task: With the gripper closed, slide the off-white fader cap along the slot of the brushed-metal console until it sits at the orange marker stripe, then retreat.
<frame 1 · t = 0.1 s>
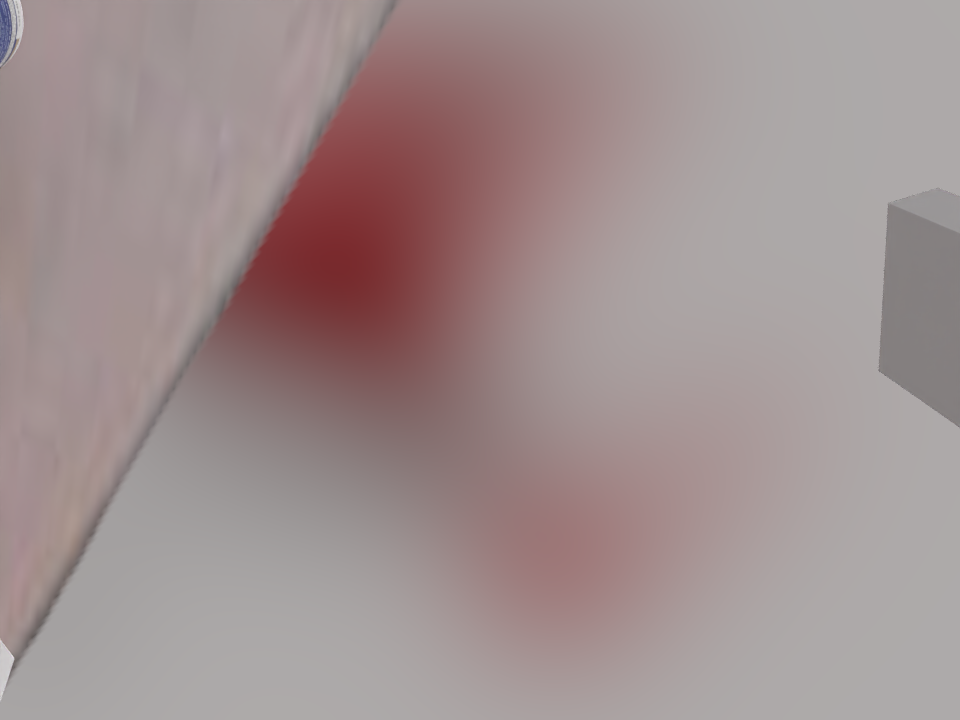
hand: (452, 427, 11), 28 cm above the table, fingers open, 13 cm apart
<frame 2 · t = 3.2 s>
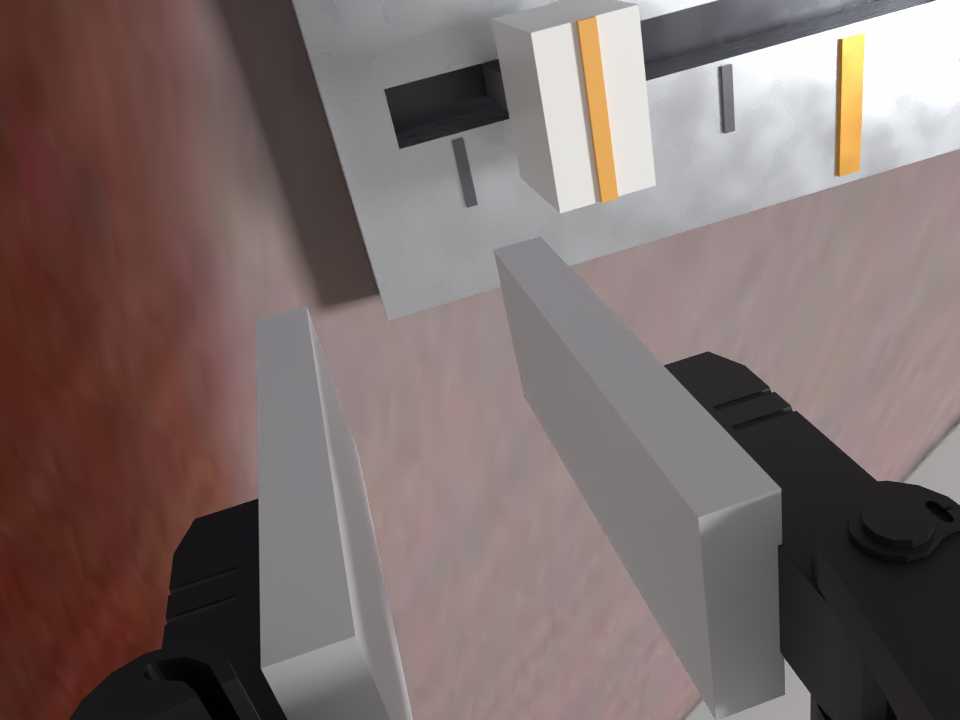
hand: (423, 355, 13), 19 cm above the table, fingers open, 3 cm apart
console: (689, 22, 30), on the table
fader knob: (551, 90, 26), point 4 cm above the table, slide at -7.0 cm
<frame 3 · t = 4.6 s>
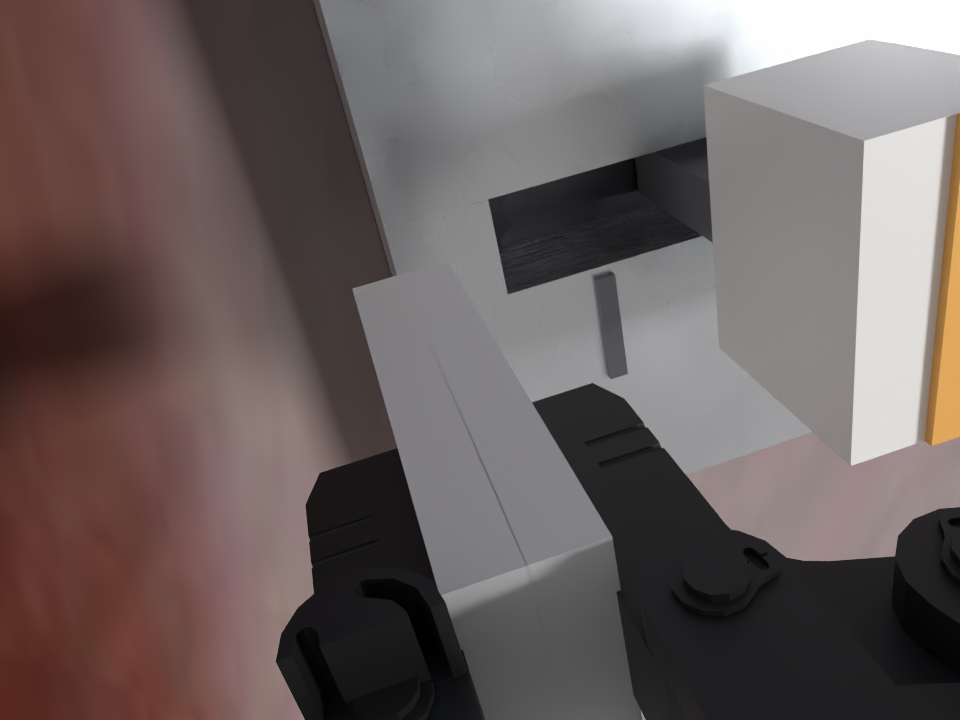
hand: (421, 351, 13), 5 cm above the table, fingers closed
console: (955, 70, 19), on the table
fader knob: (791, 206, 14), point 4 cm above the table, slide at -7.0 cm
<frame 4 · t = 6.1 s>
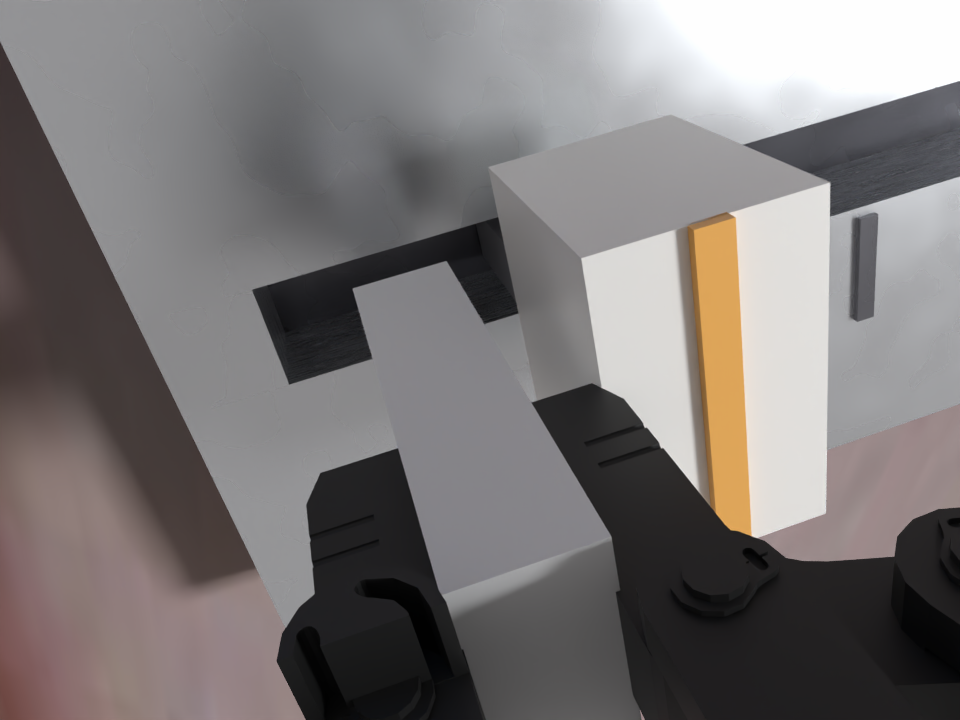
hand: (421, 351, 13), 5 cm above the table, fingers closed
console: (793, 131, 18), on the table
fader knob: (603, 286, 14), point 4 cm above the table, slide at -6.3 cm, touching gripper
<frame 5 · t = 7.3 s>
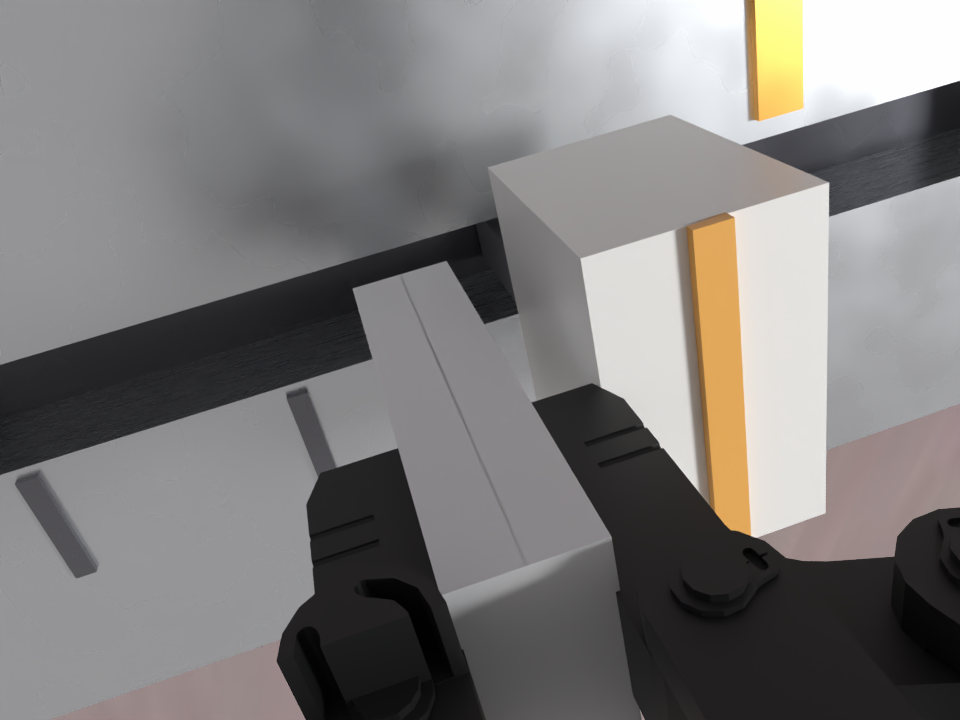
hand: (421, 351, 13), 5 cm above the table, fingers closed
console: (500, 218, 17), on the table
fader knob: (603, 287, 14), point 4 cm above the table, slide at 0.6 cm, touching gripper
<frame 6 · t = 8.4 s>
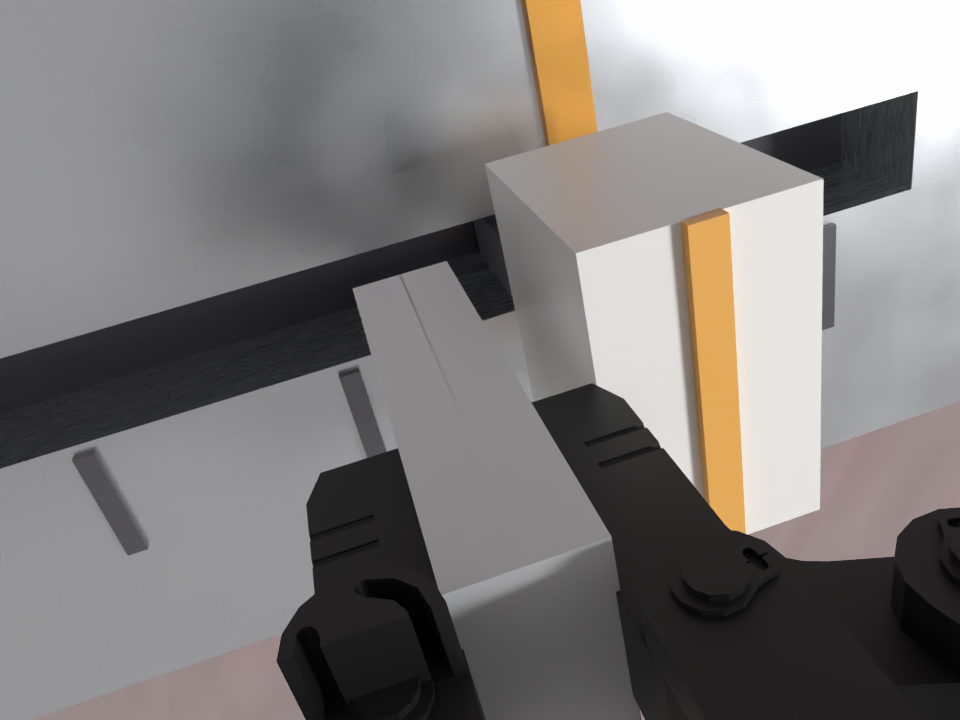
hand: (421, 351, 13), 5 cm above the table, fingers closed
console: (319, 267, 17), on the table
fader knob: (599, 283, 14), point 4 cm above the table, slide at 4.5 cm, touching gripper
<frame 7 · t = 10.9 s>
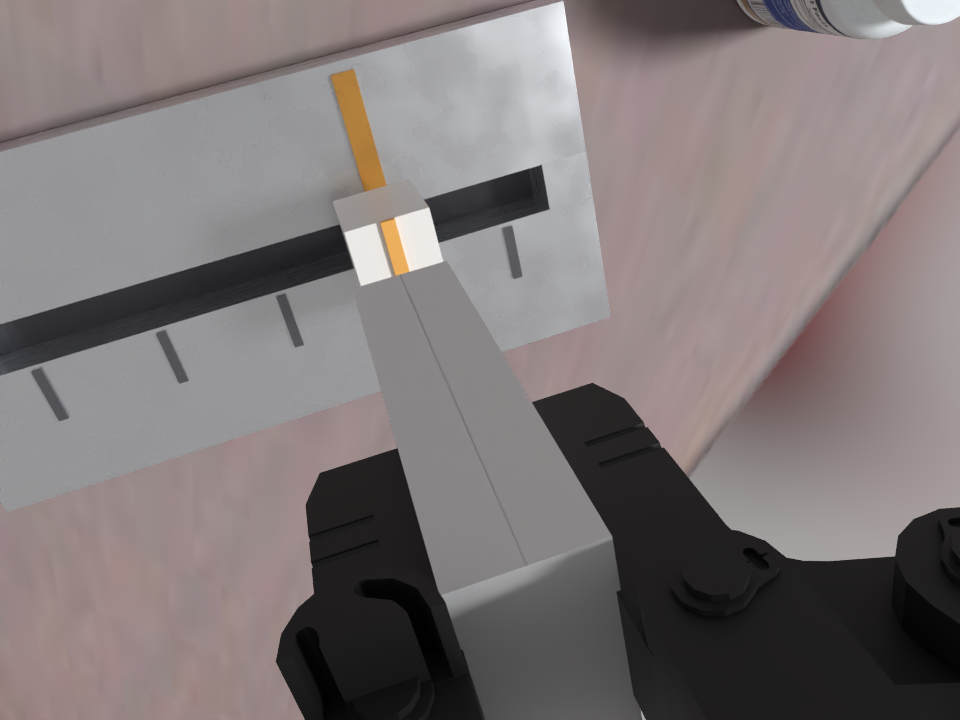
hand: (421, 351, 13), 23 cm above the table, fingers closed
console: (269, 250, 35), on the table
fader knob: (388, 250, 32), point 4 cm above the table, slide at 4.7 cm
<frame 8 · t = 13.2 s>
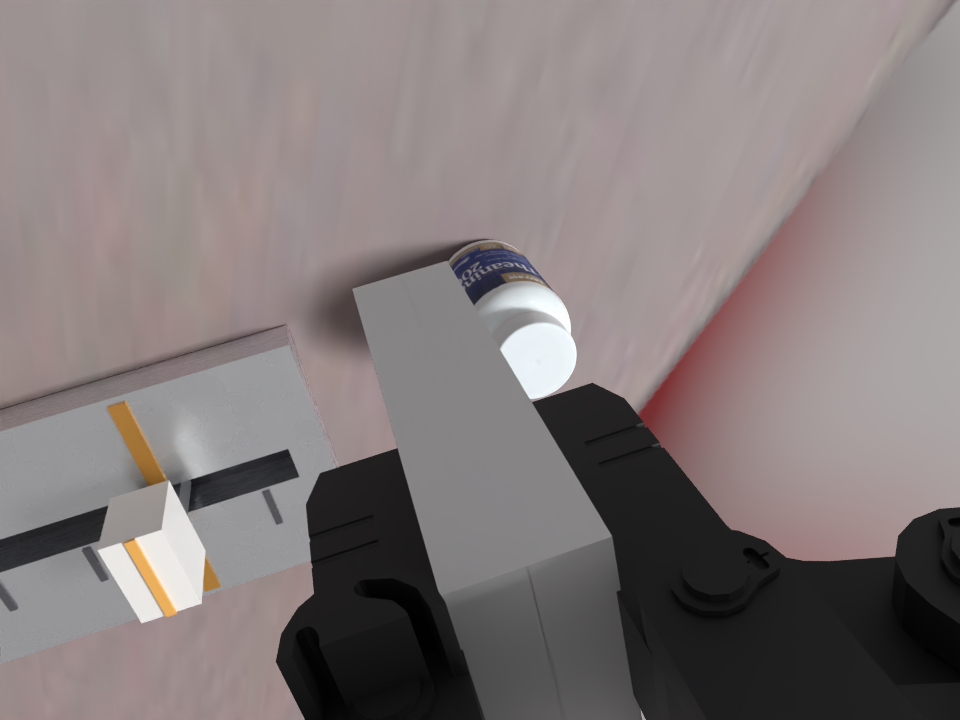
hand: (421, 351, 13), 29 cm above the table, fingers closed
console: (84, 503, 45), on the table
pill bottle: (482, 281, 45), on the table
fader knob: (159, 526, 42), point 4 cm above the table, slide at 4.7 cm
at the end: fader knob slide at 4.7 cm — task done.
